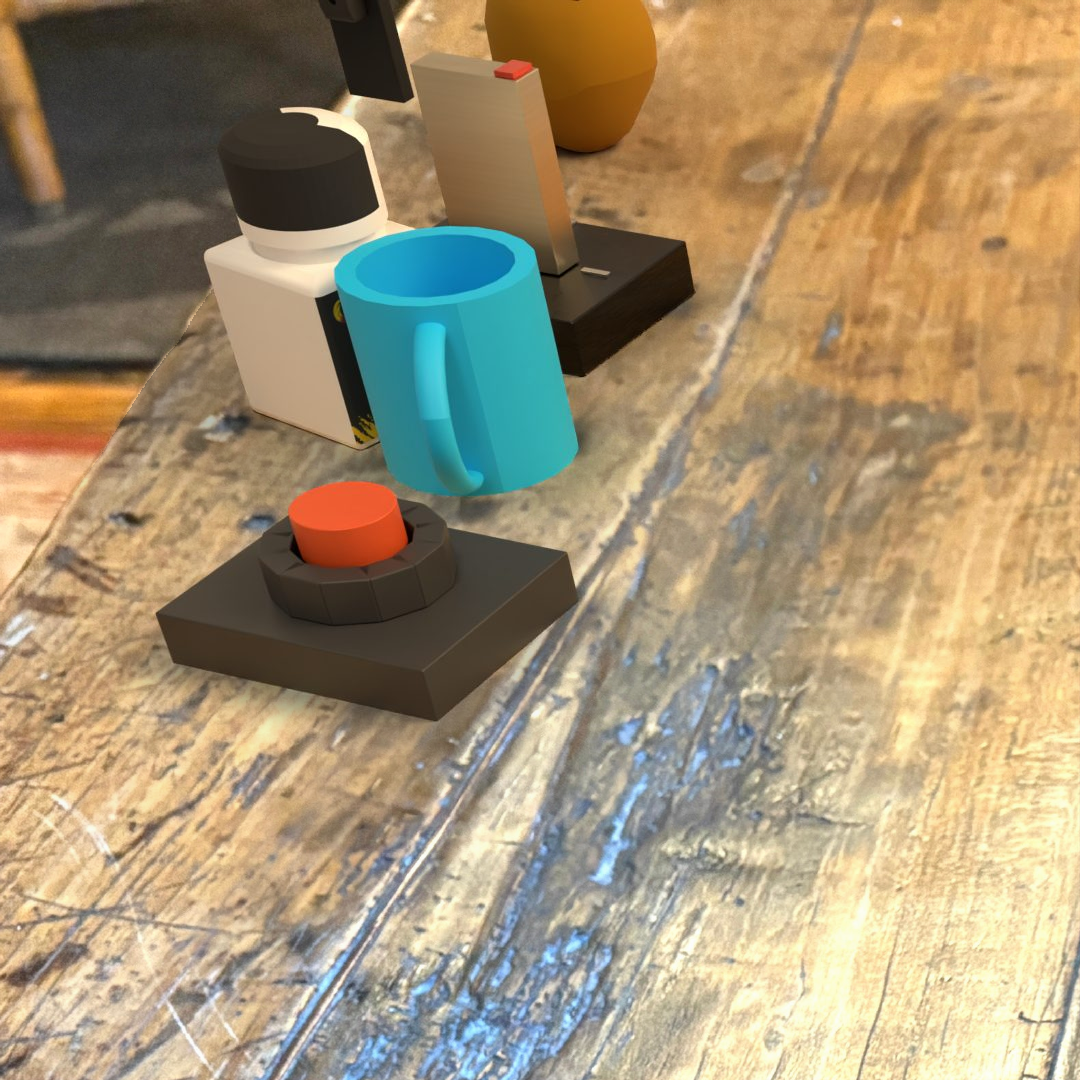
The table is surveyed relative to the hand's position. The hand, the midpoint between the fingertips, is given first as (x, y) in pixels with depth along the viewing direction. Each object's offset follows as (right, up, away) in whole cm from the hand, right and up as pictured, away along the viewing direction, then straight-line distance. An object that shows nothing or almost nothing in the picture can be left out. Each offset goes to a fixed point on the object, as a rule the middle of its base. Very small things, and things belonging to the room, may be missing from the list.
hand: (473, 44), depth 117 cm
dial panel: (0, -8, +9) cm, 12 cm away
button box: (+1, -30, -12) cm, 32 cm away
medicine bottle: (-5, -16, +2) cm, 17 cm away
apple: (-2, +7, +24) cm, 25 cm away
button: (+1, -28, -15) cm, 31 cm away
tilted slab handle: (0, -6, +7) cm, 9 cm away
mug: (+1, -20, -3) cm, 21 cm away
